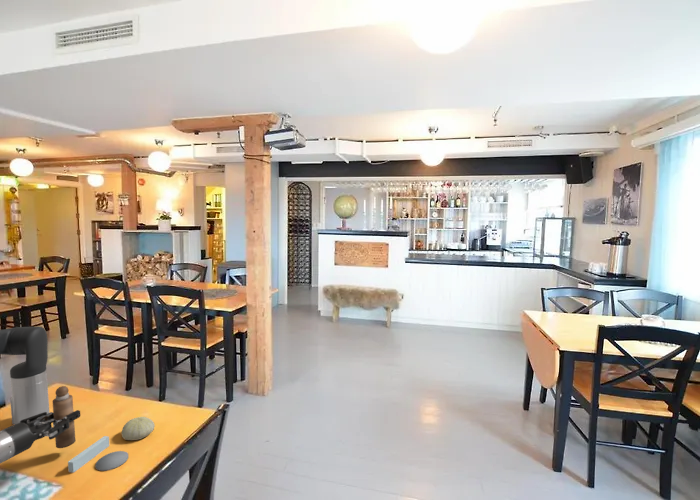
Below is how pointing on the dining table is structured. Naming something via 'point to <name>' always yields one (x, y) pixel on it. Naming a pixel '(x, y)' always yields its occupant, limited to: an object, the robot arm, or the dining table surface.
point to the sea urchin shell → (137, 428)
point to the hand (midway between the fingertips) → (73, 411)
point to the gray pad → (111, 460)
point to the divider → (88, 454)
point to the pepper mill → (61, 409)
